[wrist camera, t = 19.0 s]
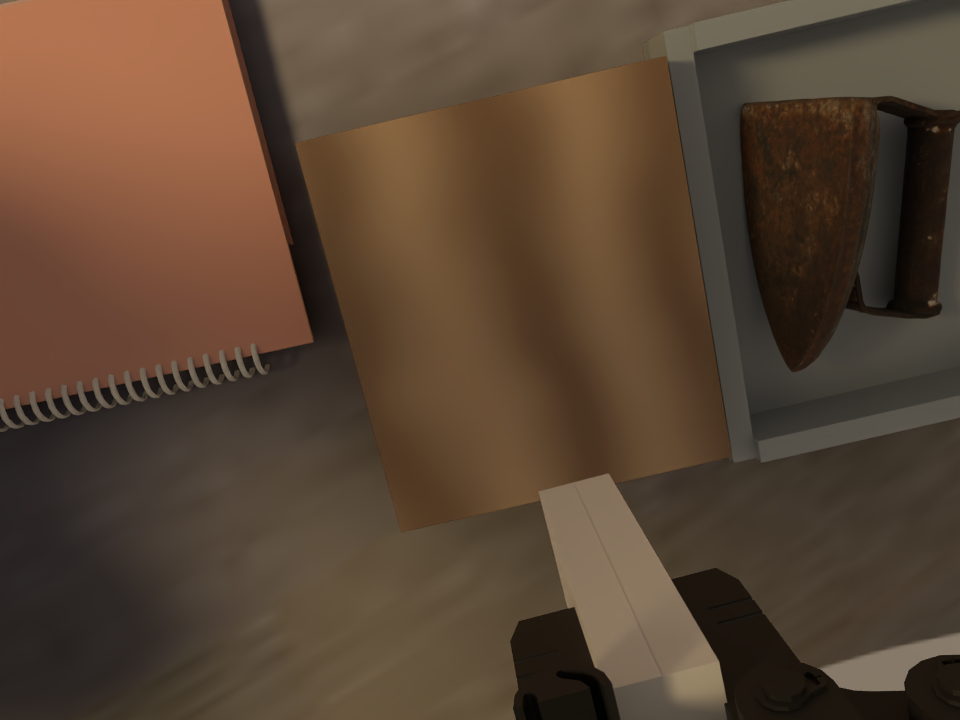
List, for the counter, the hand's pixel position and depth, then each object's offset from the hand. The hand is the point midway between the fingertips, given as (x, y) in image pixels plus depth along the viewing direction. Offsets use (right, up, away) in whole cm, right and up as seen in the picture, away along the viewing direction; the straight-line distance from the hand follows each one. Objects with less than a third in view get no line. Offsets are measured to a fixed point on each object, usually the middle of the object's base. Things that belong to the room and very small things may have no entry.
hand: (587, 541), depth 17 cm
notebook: (-24, +9, +19) cm, 32 cm away
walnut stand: (-1, +7, +20) cm, 21 cm away
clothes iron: (+10, +8, +16) cm, 20 cm away
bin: (+14, +10, +19) cm, 26 cm away
